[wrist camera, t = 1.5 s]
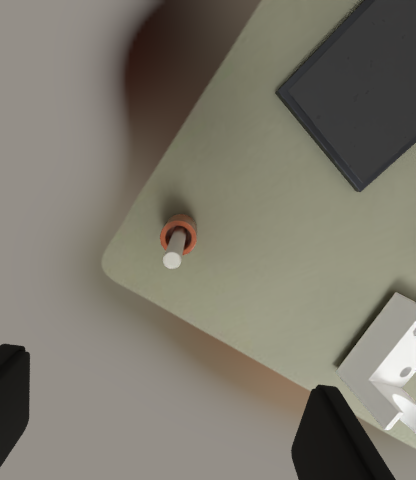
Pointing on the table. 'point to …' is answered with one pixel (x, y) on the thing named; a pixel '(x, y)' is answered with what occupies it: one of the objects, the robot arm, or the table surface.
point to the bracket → (385, 364)
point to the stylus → (175, 248)
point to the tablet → (361, 90)
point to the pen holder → (185, 222)
